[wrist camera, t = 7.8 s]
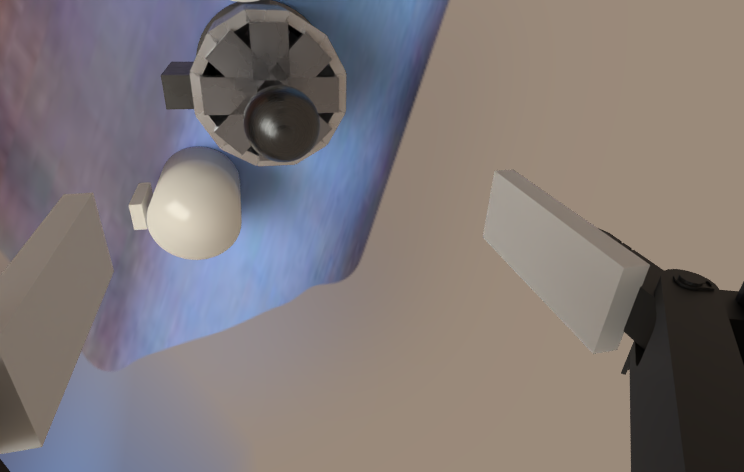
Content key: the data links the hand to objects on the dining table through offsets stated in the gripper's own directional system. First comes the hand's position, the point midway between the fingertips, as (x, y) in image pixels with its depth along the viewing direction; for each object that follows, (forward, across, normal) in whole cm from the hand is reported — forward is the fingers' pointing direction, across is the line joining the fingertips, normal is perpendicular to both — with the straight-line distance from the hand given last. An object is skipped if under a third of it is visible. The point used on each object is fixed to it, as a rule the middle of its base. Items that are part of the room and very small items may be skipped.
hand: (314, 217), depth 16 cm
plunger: (+31, 0, -1) cm, 31 cm away
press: (+33, 0, -1) cm, 33 cm away
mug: (+33, -7, -12) cm, 36 cm away
